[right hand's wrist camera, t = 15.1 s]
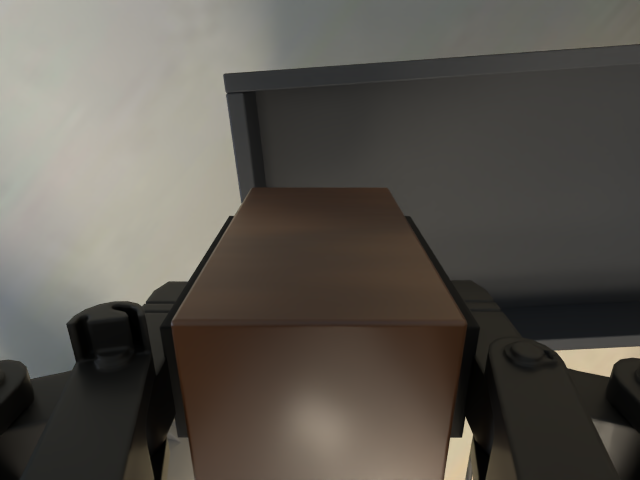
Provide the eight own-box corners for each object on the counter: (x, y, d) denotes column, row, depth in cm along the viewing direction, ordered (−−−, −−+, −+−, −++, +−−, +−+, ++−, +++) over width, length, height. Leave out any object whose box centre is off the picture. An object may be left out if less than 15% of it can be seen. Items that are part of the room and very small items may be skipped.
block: (388, 186, 14) (470, 321, 6) (381, 307, 15) (438, 526, 8) (250, 186, 14) (167, 321, 6) (257, 307, 15) (199, 526, 8)
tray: (802, 295, 27) (1094, 431, 17) (272, 324, 28) (243, 468, 18) (913, 25, 21) (1459, -18, 11) (240, 73, 22) (171, 74, 12)
